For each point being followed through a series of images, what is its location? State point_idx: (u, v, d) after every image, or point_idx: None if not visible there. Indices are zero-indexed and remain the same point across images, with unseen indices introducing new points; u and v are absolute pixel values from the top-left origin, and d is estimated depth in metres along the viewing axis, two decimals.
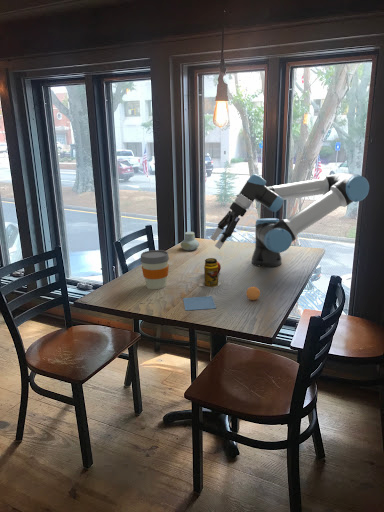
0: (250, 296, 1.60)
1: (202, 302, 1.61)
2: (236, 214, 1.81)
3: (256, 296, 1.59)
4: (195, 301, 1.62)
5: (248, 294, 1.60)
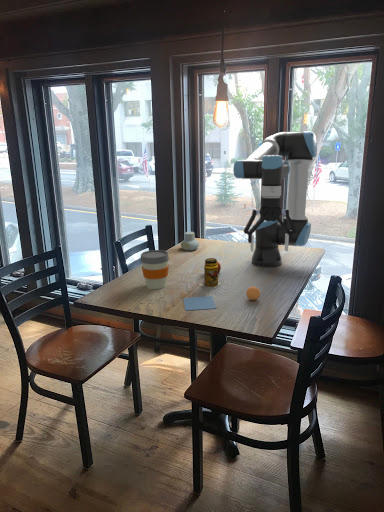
0: (250, 296, 1.60)
1: (202, 302, 1.61)
2: None
3: (256, 296, 1.59)
4: (195, 301, 1.62)
5: (248, 294, 1.60)
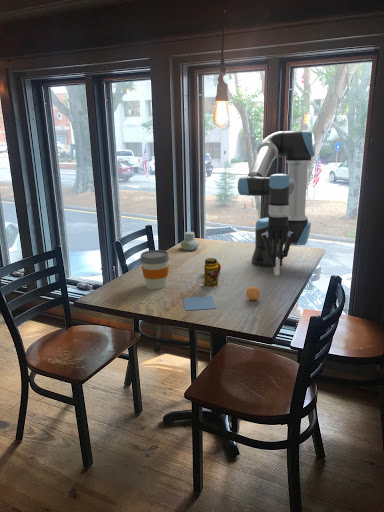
0: (250, 296, 1.60)
1: (202, 302, 1.61)
2: (287, 226, 1.54)
3: (256, 296, 1.59)
4: (195, 301, 1.62)
5: (248, 294, 1.60)
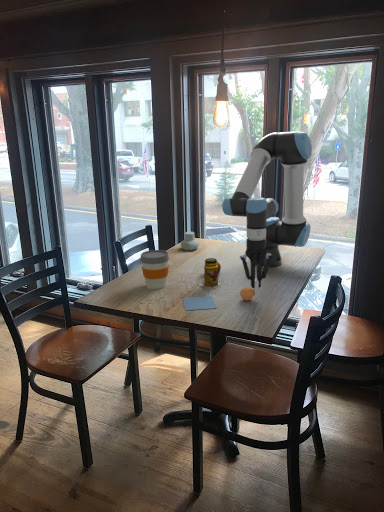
0: (245, 298, 1.60)
1: (202, 302, 1.61)
2: (265, 248, 1.56)
3: (250, 296, 1.59)
4: (195, 301, 1.62)
5: (242, 297, 1.60)
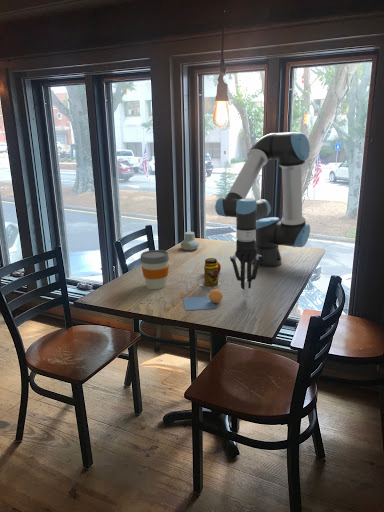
0: (214, 294, 1.58)
1: (202, 302, 1.61)
2: (255, 249, 1.56)
3: (216, 300, 1.58)
4: (195, 301, 1.62)
5: (214, 292, 1.58)
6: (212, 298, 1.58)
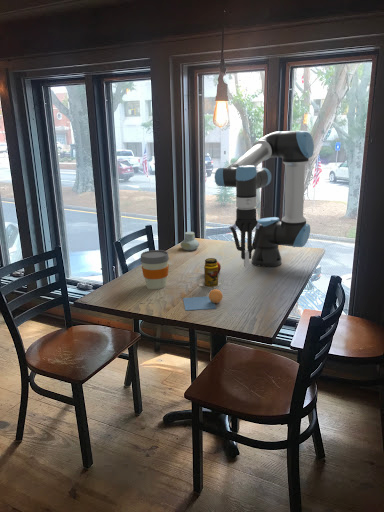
0: (214, 294, 1.58)
1: (202, 302, 1.61)
2: None
3: (216, 300, 1.58)
4: (195, 301, 1.62)
5: (214, 292, 1.58)
6: (212, 298, 1.58)
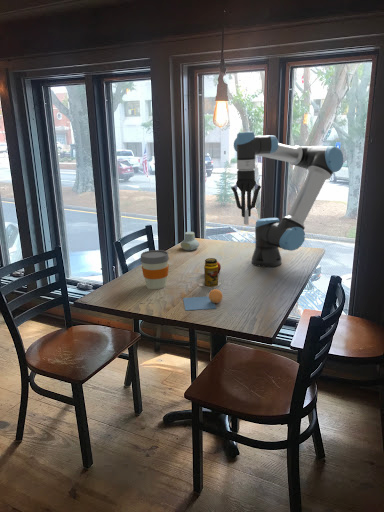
0: (214, 294, 1.58)
1: (202, 302, 1.61)
2: (254, 179, 1.72)
3: (216, 300, 1.58)
4: (195, 301, 1.62)
5: (214, 292, 1.58)
6: (212, 298, 1.58)
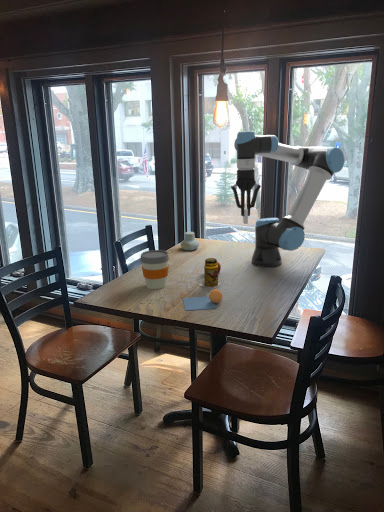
0: (214, 294, 1.58)
1: (202, 302, 1.61)
2: None
3: (216, 300, 1.58)
4: (195, 301, 1.62)
5: (214, 292, 1.58)
6: (212, 298, 1.58)
